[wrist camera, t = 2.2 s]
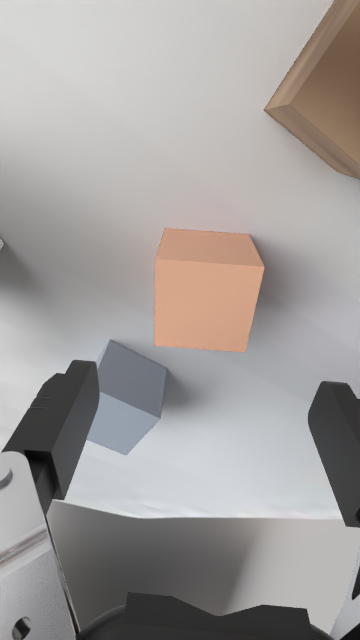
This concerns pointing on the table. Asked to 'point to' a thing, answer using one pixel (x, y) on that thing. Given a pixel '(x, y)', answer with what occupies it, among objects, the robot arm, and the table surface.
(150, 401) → the slate block
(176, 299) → the terracotta block
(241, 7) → the table surface
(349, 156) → the walnut block
